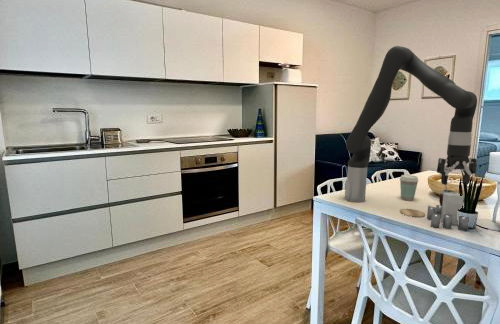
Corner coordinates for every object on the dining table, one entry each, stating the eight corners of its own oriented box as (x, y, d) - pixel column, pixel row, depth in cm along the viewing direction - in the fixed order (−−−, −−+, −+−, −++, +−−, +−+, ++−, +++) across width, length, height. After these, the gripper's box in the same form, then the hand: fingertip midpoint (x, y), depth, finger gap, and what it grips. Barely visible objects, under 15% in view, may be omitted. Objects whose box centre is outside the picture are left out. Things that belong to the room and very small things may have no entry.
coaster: (407, 217, 133) (407, 216, 133) (395, 210, 143) (395, 208, 143) (430, 217, 133) (430, 215, 133) (416, 209, 143) (416, 208, 143)
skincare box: (456, 221, 128) (459, 193, 126) (460, 225, 124) (464, 196, 122) (440, 220, 129) (443, 192, 127) (443, 224, 125) (447, 195, 123)
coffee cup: (418, 202, 155) (421, 178, 153) (400, 201, 157) (402, 177, 155) (413, 197, 164) (415, 175, 162) (396, 196, 165) (398, 174, 163)
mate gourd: (456, 211, 142) (460, 178, 139) (436, 208, 146) (439, 176, 143) (455, 206, 148) (459, 175, 146) (436, 204, 152) (439, 174, 150)
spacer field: (438, 231, 118) (439, 218, 117) (413, 216, 135) (414, 205, 134) (490, 230, 119) (492, 218, 118) (459, 215, 136) (460, 204, 135)
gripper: (447, 144, 117) (443, 186, 120) (484, 144, 118) (479, 186, 121) (435, 142, 125) (431, 182, 127) (469, 142, 125) (465, 182, 128)
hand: (454, 184), depth 124 cm, fingers open, 8 cm apart
